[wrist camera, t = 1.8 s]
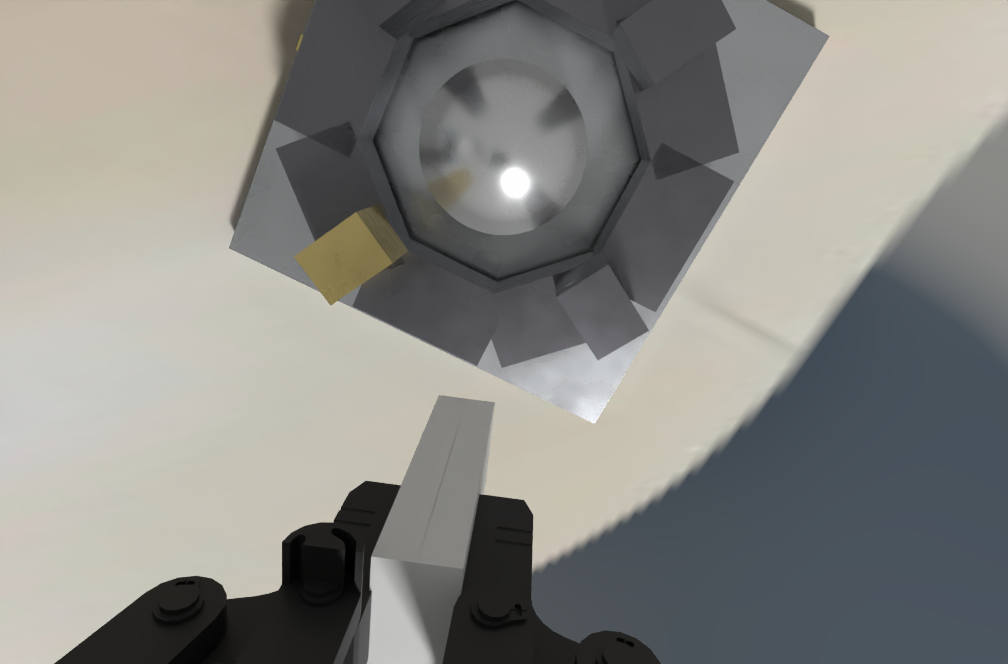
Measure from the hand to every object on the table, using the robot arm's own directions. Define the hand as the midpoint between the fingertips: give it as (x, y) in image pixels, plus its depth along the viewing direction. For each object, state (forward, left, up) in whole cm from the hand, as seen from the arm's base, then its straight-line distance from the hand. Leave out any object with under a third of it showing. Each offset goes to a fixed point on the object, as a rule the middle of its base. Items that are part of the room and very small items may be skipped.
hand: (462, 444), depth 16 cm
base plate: (-3, +7, -16) cm, 18 cm away
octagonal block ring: (-3, +7, -14) cm, 16 cm away
